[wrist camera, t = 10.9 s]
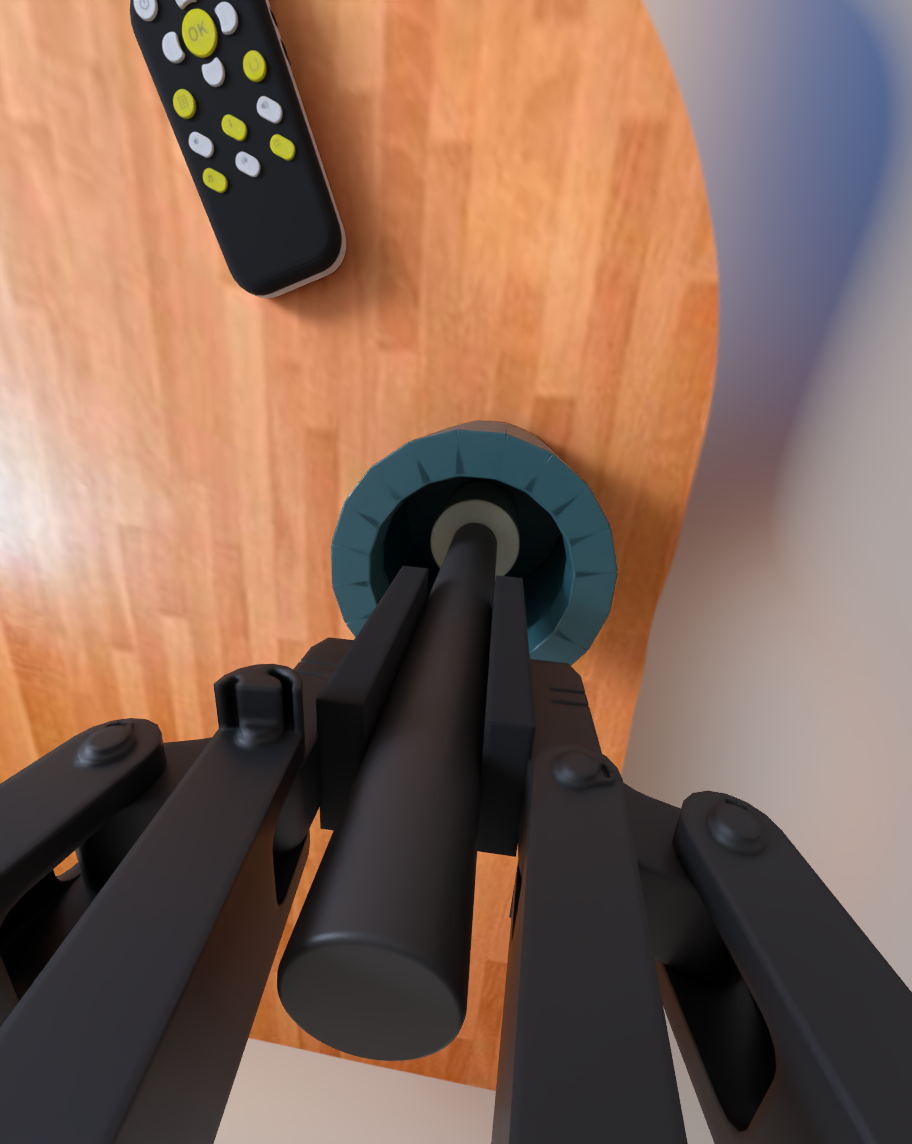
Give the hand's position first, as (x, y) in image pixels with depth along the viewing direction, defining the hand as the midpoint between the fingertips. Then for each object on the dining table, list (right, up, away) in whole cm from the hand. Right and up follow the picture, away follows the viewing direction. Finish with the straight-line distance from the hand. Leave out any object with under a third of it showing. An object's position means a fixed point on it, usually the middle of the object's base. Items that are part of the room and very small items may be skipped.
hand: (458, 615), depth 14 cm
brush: (+1, +4, +12) cm, 12 cm away
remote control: (-10, +22, +10) cm, 26 cm away
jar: (+2, +5, +14) cm, 15 cm away
